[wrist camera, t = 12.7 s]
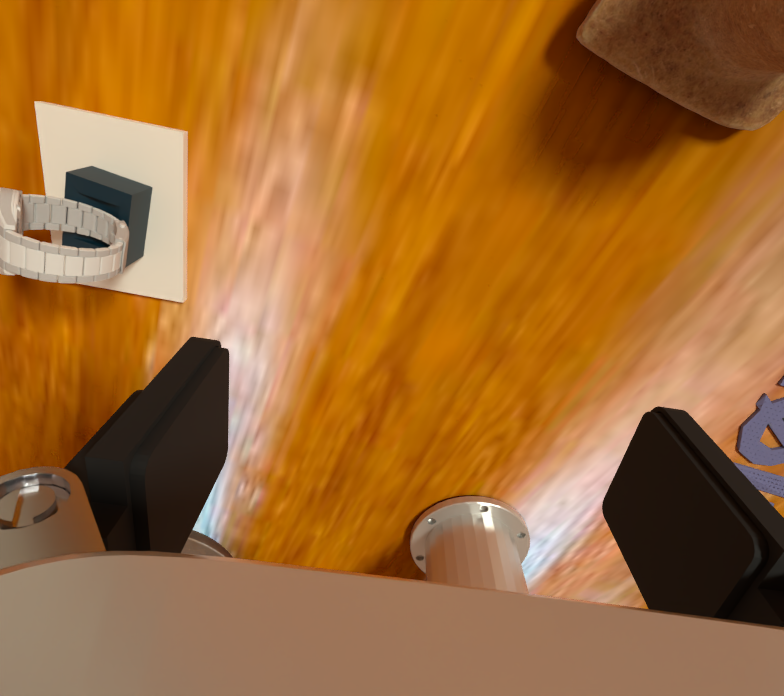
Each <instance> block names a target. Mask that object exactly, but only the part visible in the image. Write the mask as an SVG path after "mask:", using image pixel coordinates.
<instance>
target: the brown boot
mask: <svg viewBox="0 0 784 696" xmlns="http://www.w3.org/2000/svg"><path fill="white" fill-rule="evenodd" d="M576 38H577V39H578V41H579V42H580V43H581V44H582V45H583V46H585V47H586V48H587V49H589V50H590V51H592V52H593V53H595V54H596V55H598V56H599V57H601V58H602V59H604V60H606V61H607V62H608V63H610V64H611V65H612V66H614V67H616V68H617V69H619V70H620V71H622V72H624V73H625V74H627V75H629V76H630V77H632V78H634V79H636V80H638V81H640V82H642V83H644V84H645V85H647V86H649V87H650V88H652V89H653V90H655V91H657V92H658V93H660V94H661V95H663V96H665V97H667V98H668V99H670V100H672V101H674V102H676V103H677V104H679V105H681V106H683V107H684V108H687V109H689V110H691V111H693V112H695V113H697V114H699V115H701V116H703V117H705V118H707V119H709V120H711V121H713V122H715V123H718V124H720V125H723V126H725V127H728V128H734V129H741V130H756V129H758V128H761V127H762V126H764V125H766V124H767V123H769V122H770V121H772V120H773V119H774V118H775V117H776V116H777V115H778V114H779V113H780V112H781V111H782V110H783V109H784V0H597V1H596V2H595V3H594V5H593V6H592V8H591V9H590V11H589V12H588V14H587V16H586V18H585V20H584V21H583V22H582V24H581V25H580V26H579V28H578V30H577V34H576Z"/></svg>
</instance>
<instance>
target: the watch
mask: <svg viewBox="0 0 784 696" xmlns="http://www.w3.org/2000/svg"><path fill="white" fill-rule="evenodd" d="M152 188H153V187H151V186H148V185H145V184H142V183H139V182H136V181H134V180H131V179H128V178H125V177H122V176H120V175H117V174H114V173H111V172H108V171H105V170H103V169H100V168H97V167H94V166H89V167H85V168H80V169H76V170H72V171H68V172H66V178H65V196H64V198H62V205H61V198H58V197H53V196H43V195H34V194H29V195H27V194H22V191H19V190H14V189H8V188H0V274H3V275H15V274H18V275H21V276H24V277H27V278H32V279H39V280H41V281H48V282H57V276H58V283H76V282H77V283H88V282H93V281H94V282H96V281H102V280H106V279H110V278H112V277H114V276H115V275H118V274H119V273H120V274H122V273H123V271H124V269H125V268H126V267H127V266H129V265H130V264H132V263H133V262H135V261H137V260H138V259H140V258H141V257H143V255H144V248H145V240H146V233H147V225H148V218H149V211H150V203H151V196H152ZM50 204H51V212H50ZM60 224H61V231H63V233H62V245H61V246H60V251H59V246H58V245H56V244H51V243H47V242H40V241H39V240H35V239H32V238H29V237H26V236H23V231H25V230H29V229H30V230H42V229H46V230H60ZM45 252H46V254H45ZM64 260H65V271H64Z"/></svg>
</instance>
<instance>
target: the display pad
mask: <svg viewBox="0 0 784 696" xmlns="http://www.w3.org/2000/svg"><path fill="white" fill-rule="evenodd" d="M34 102H35V110H36V119H37V127H38V135H39V143H40V151H41V159H42V167H43V175H44V183H45V191H46V196H53V197H58V198H61V205H62V198H64V196H65V178H66V172H68V171H72V170H76V169H80V168H85V167H89V166H94V167H97V168H100V169H103V170H105V171H108V172H111V173H114V174H117V175H120V176H122V177H125V178H128V179H131V180H134V181H136V182H139V183H142V184H145V185H148V186H151V187H153V188H152V196H151V203H150V211H149V218H148V225H147V233H146V240H145V248H144V255H143V257H141V258H140V259H138V260H137V261H135V262H133V263H132V264H130V265H129V266H127V267H126V268H125V269H124V271H123V273H122V274H120V273H119V274H118V275H115V276H114V277H112V278H110V279H106V280H102V281H96V282H94V281H93V282H88V283H77V282H76V283H77V284H83V285H88V286H94V287H99V288H105V289H110V290H116V291H121V292H127V293H132V294H138V295H143V296H149V297H154V298H160V299H165V300H171V301H176V302H182V303H183V302H184V301H185V300H187V166H188V131H183V130H178V129H173V128H169V127H164V126H159V125H154V124H149V123H144V122H140V121H135V120H130V119H125V118H120V117H116V116H111V115H106V114H101V113H96V112H91V111H87V110H82V109H77V108H72V107H67V106H63V105H58V104H53V103H48V102H43V101H34ZM50 212H51V204H50ZM50 232H51V240H52V244H56V245H58V246H59V251H60V246H61V245H62V233H63V231H61V224H60V230H50ZM64 271H65V260H64ZM57 280H58V276H57Z"/></svg>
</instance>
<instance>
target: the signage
mask: <svg viewBox="0 0 784 696" xmlns="http://www.w3.org/2000/svg"><path fill="white" fill-rule="evenodd" d="M778 384H779V385H782V386H784V376H783V377H782V379H781V380H780V381H779V382H778ZM756 405H757V407H758V409H757V410H756V411H755V412H754V413H753V414H752V415H751V416H750V417H749V418H748V419H747V420H746V421H745V422H744V423H743V424H742V425H741V428H740V432H739V436H738V442H737V447H738V450H739V452H740V453H741V454H742V455H743V456H744V457H746V458H747V459H748V460H749V461H751V462H752V463H753V464H760V465H768V466H772V465H777V464H781V463H784V397H783V398H780V399H777V400H774V401H770V399H769V398H768V396H767V395H766V394H765V393H764V394H763V395H762V396H761V398H760V399H759V400H758V401H757V403H756ZM767 425H768V426H769V427H770V429H771V430H772V431H773V433H774V434H775V435H776V437H777V438H778V440H779V441H780V443H781V444H782V447H776V448H769V447H767V446H766V445H764V444H763V443H761V442H760V439H761V437H762V435H763V433H764V431H765V429H766V427H767ZM733 463H734V462H733ZM734 464H735V465H736V466H737V468H738V469H739V470H740V471H741V472H742V473H743V474H744V475H745V476H746V477H747V479H748V480H749V481H750V482H751V483H752V484H753V485H754V486H755V487H756V488H757V489H758V490H761V491H764V492H768V493H771V494H774V495H777V496H781V497H784V477H782V476H778V475H775V474H772V473H768V472H765V471H761V470H758V469H754V468H751V467H748V466H744V465H741V464H737V463H734ZM769 503H770V502H769ZM770 504H771V505H772V506H774V503H770Z"/></svg>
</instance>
